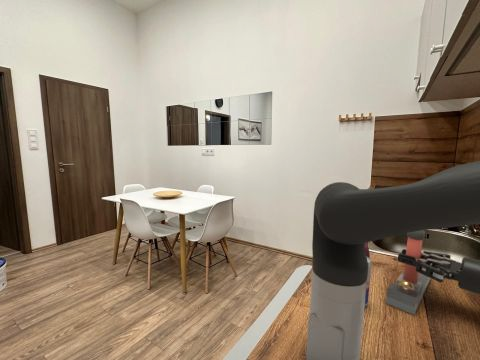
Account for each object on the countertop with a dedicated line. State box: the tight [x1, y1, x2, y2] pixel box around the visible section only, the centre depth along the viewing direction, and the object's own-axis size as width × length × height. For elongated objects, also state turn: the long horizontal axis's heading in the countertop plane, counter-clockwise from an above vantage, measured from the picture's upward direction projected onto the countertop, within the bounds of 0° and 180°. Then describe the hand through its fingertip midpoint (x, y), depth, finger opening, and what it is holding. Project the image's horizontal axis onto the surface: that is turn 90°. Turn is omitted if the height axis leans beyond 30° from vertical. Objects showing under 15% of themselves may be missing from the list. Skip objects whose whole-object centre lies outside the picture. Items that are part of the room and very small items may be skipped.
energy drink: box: [364, 256, 373, 309], centre depth 62 cm, size 5×5×12 cm
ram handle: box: [396, 230, 426, 292], centre depth 66 cm, size 5×5×17 cm
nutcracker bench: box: [385, 271, 431, 316], centre depth 68 cm, size 22×6×6 cm, turn 135°
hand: (400, 254), depth 68 cm, fingers closed on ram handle, 3 cm apart
